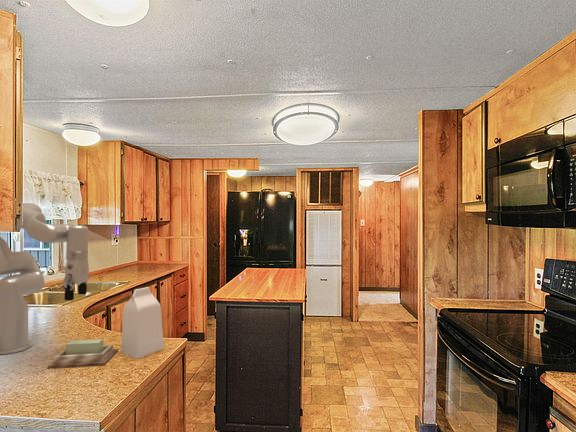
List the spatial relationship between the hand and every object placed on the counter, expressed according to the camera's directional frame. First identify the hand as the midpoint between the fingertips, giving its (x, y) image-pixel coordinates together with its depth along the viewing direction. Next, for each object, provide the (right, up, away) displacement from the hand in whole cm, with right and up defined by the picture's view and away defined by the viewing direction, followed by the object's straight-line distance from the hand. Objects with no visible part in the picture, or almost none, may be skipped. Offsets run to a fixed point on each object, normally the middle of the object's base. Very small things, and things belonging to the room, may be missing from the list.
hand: (75, 297), depth 136 cm
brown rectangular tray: (+7, -23, -5) cm, 25 cm away
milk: (+26, -23, +3) cm, 35 cm away
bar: (+7, -22, -5) cm, 24 cm away
